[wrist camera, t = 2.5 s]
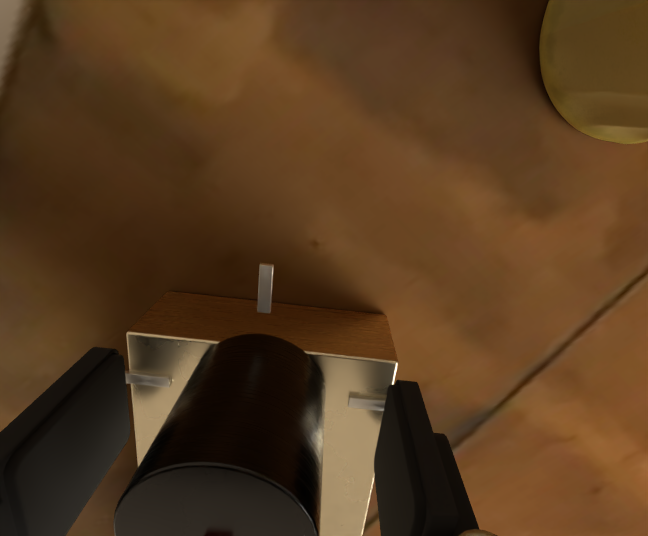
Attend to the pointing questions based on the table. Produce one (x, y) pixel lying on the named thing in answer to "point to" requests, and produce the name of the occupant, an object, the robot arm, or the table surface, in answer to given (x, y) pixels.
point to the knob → (235, 448)
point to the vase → (598, 66)
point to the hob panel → (301, 330)
